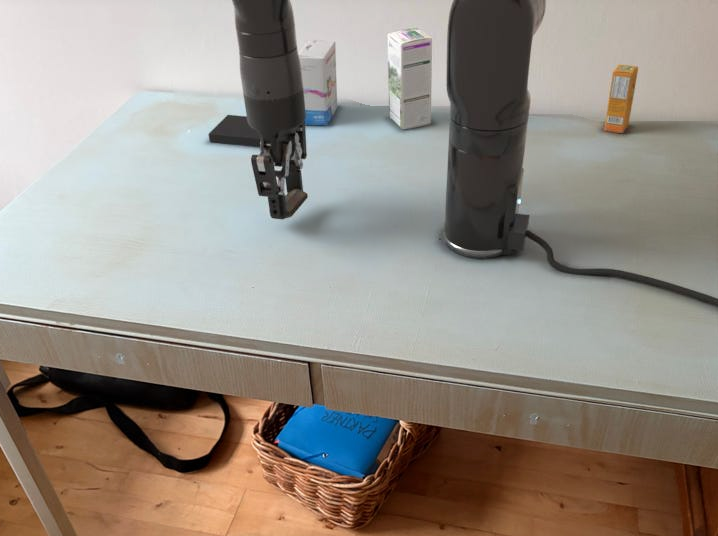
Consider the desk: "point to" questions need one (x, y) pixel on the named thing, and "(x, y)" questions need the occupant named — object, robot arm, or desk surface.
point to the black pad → (235, 132)
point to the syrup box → (409, 78)
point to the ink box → (319, 81)
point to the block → (294, 201)
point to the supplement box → (620, 98)
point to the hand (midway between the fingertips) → (287, 205)
